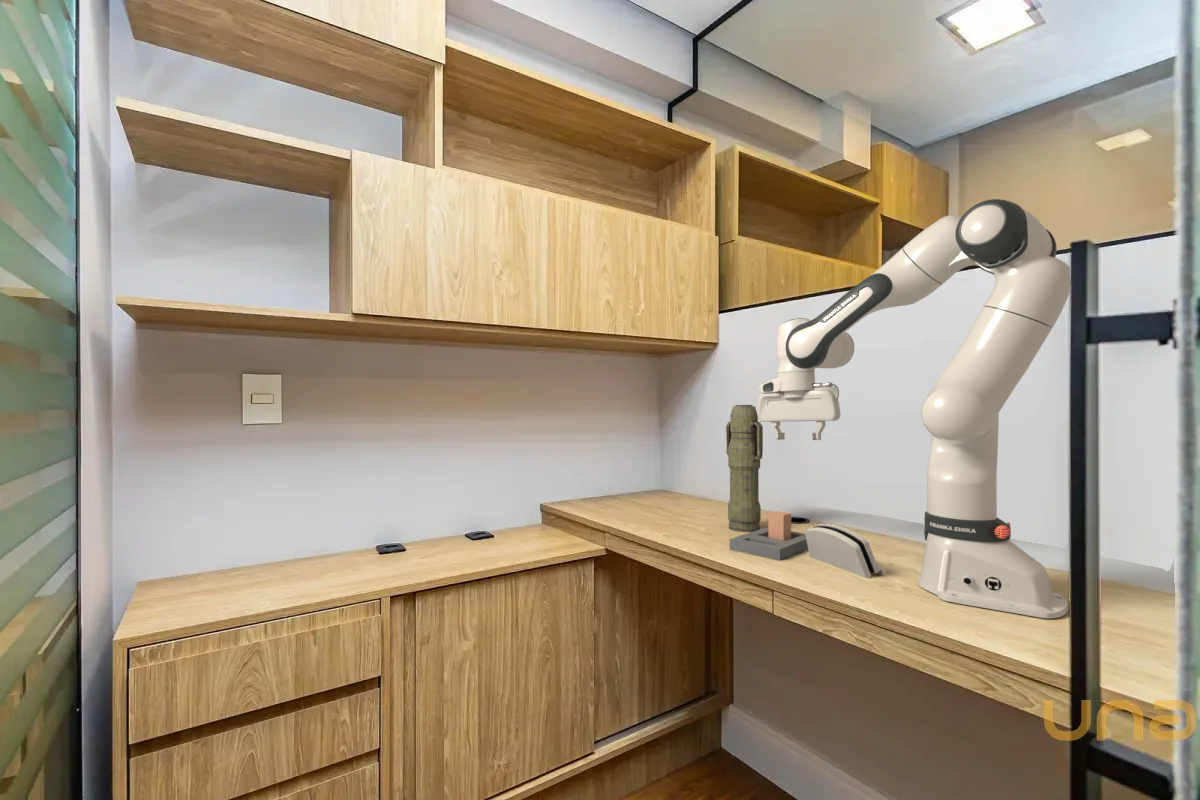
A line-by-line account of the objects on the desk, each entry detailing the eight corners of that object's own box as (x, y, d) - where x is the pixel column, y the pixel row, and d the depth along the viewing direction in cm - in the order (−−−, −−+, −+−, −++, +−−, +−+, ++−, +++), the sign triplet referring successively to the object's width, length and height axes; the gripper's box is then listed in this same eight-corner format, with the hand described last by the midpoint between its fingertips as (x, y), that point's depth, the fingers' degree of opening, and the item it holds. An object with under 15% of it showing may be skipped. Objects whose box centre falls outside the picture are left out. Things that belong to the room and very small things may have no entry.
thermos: (735, 522, 162) (735, 404, 162) (771, 529, 153) (770, 404, 153) (717, 527, 156) (717, 404, 156) (753, 534, 147) (753, 405, 148)
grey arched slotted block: (886, 575, 112) (873, 531, 111) (869, 585, 111) (856, 540, 110) (826, 554, 128) (814, 515, 127) (811, 563, 126) (799, 523, 125)
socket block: (815, 545, 136) (815, 535, 136) (779, 560, 123) (779, 549, 123) (767, 536, 145) (767, 527, 145) (729, 549, 132) (729, 539, 132)
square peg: (791, 545, 136) (791, 513, 136) (783, 548, 133) (783, 515, 133) (776, 542, 139) (776, 511, 139) (768, 545, 136) (768, 513, 136)
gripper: (843, 382, 131) (845, 439, 131) (765, 387, 146) (767, 438, 145) (832, 381, 127) (835, 440, 126) (753, 386, 141) (755, 440, 141)
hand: (798, 439), depth 136 cm, fingers open, 8 cm apart
